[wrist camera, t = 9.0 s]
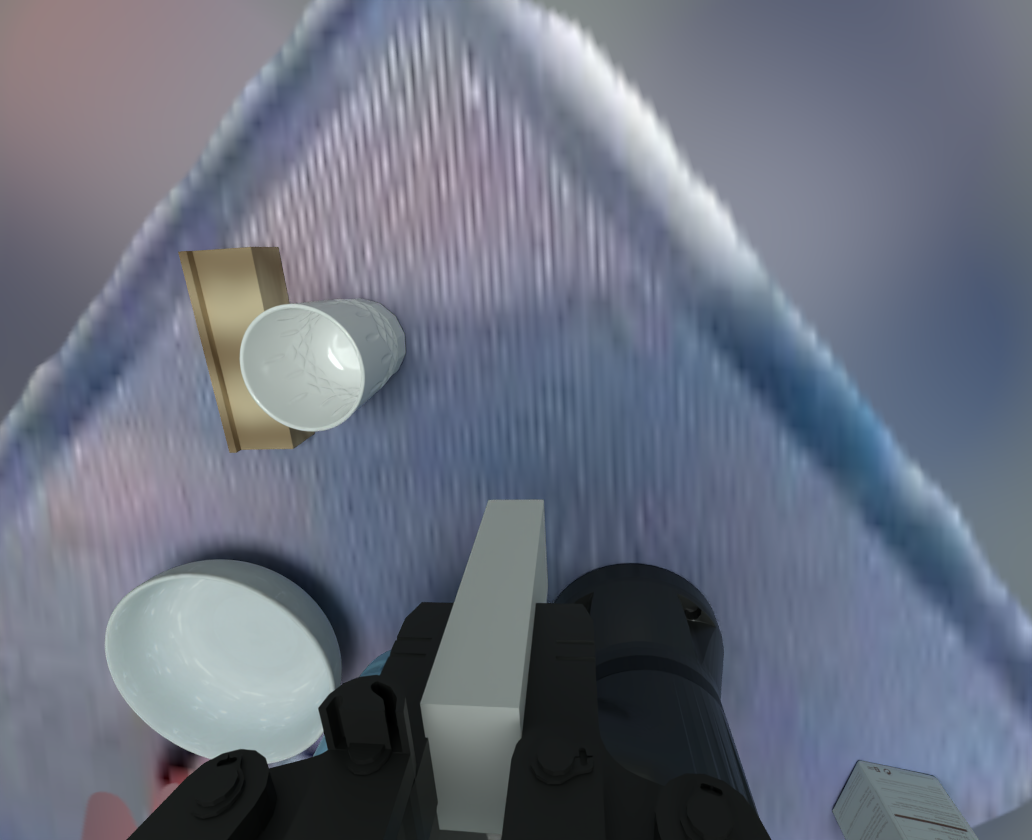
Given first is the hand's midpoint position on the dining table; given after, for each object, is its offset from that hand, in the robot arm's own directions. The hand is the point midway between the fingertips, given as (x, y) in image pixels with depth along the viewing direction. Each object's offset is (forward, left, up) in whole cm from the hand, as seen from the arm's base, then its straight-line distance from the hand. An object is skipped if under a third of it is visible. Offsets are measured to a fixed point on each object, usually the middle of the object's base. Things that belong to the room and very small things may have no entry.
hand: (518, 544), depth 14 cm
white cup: (+2, +15, -27) cm, 30 cm away
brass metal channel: (+1, +23, -26) cm, 35 cm away
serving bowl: (-26, +30, -27) cm, 48 cm away
